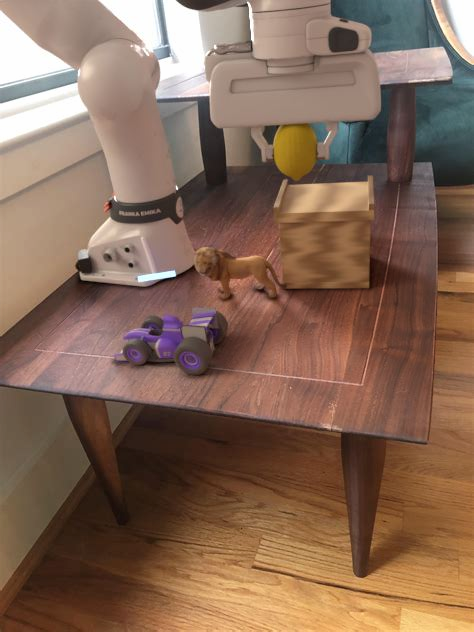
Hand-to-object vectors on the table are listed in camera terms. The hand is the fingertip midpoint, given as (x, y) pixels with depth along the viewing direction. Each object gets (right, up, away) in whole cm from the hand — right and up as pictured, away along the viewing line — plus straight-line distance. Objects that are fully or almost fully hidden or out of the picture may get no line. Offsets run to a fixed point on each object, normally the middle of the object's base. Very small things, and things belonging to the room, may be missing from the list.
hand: (296, 159), depth 69 cm
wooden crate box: (+8, -12, +26) cm, 30 cm away
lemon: (0, -2, +2) cm, 3 cm away
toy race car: (-17, -25, +11) cm, 32 cm away
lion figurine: (-7, -16, +23) cm, 29 cm away
